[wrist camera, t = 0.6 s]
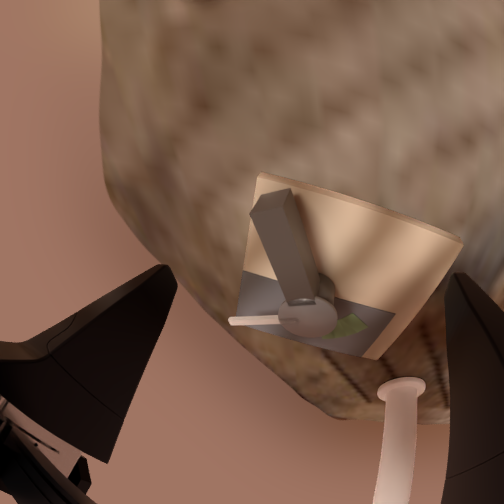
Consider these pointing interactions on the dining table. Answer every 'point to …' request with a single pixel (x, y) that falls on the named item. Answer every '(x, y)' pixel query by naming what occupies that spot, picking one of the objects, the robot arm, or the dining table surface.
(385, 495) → the candle
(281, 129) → the dining table surface
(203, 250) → the dining table surface
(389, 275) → the thin beige panel
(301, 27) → the dining table surface
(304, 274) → the grey knobbed piece
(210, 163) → the dining table surface
